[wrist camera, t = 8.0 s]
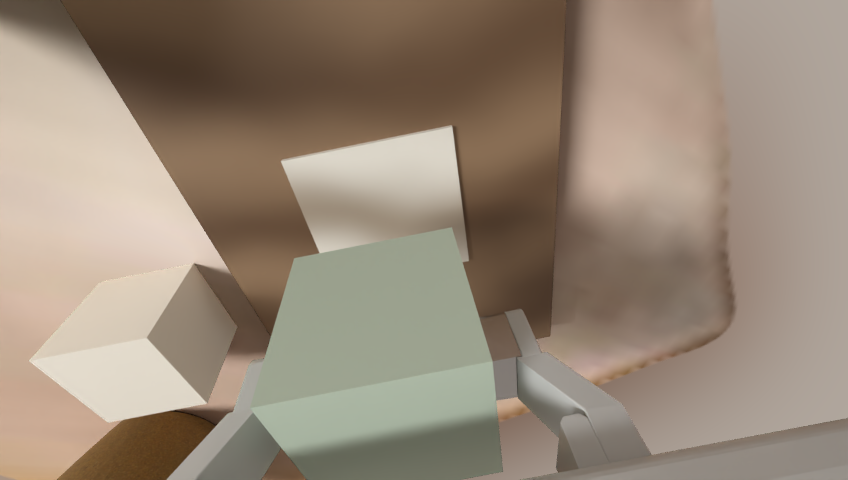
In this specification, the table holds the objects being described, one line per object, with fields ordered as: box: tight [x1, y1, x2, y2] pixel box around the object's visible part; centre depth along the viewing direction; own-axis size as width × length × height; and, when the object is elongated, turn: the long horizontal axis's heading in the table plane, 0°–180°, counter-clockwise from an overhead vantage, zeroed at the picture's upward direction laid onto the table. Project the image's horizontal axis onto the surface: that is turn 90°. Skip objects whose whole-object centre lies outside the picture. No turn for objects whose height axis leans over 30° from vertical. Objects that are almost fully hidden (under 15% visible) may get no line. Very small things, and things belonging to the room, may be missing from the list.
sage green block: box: [250, 227, 503, 480], centre depth 11 cm, size 5×5×5 cm
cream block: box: [29, 263, 237, 423], centre depth 19 cm, size 5×5×5 cm
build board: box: [61, 0, 566, 339], centre depth 18 cm, size 22×16×2 cm
